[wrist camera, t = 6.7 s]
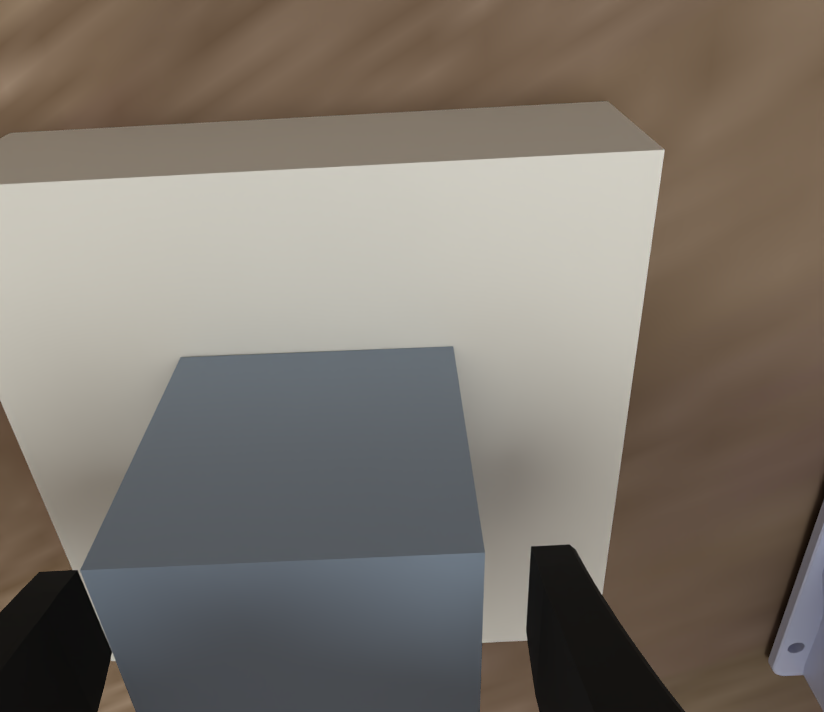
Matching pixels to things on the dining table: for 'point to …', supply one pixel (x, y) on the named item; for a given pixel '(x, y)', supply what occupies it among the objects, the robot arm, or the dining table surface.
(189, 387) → the blue cube
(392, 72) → the dining table surface
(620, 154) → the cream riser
